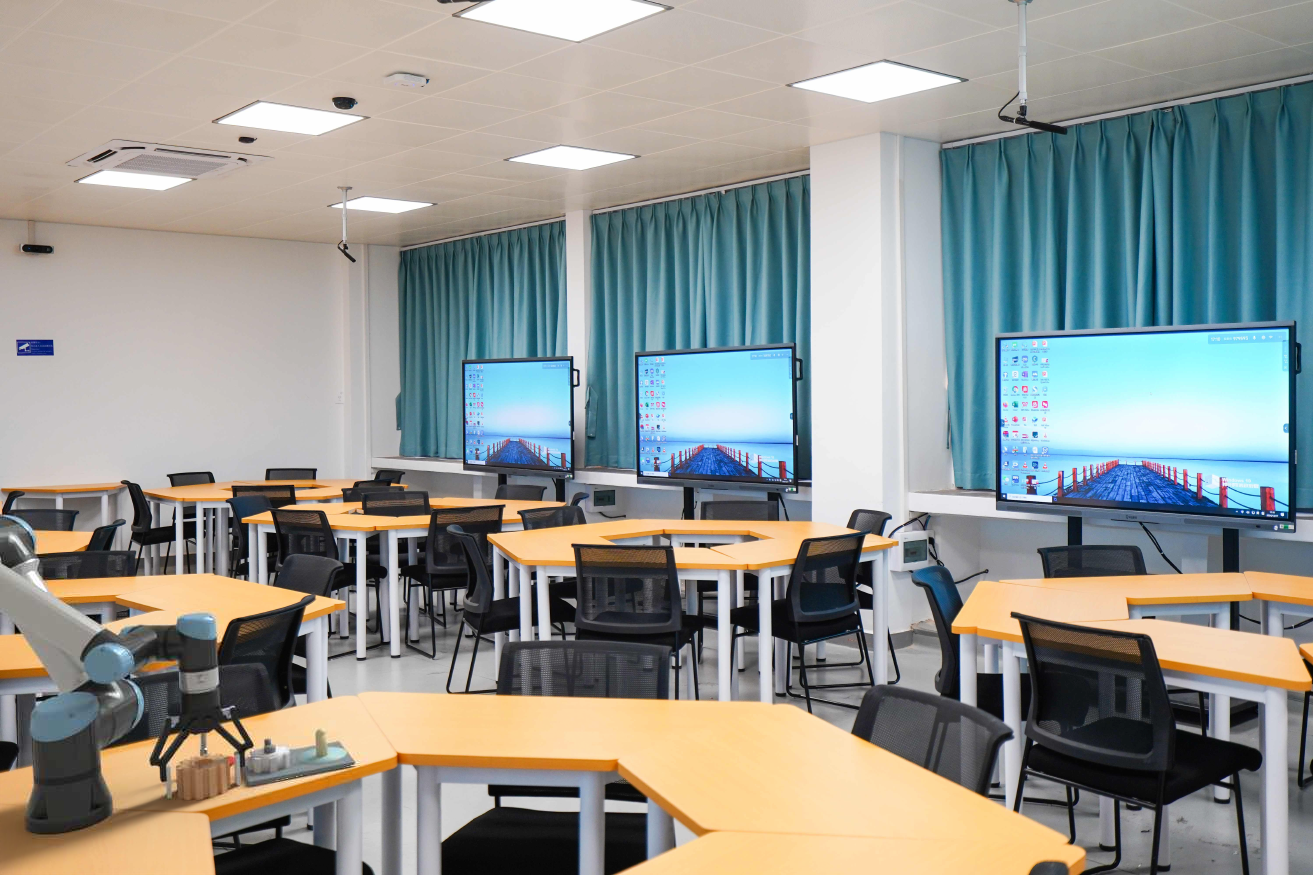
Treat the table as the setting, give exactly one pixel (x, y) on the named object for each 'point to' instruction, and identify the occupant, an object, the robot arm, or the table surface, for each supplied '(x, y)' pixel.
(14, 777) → the table surface
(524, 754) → the table surface
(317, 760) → the gear board
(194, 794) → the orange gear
